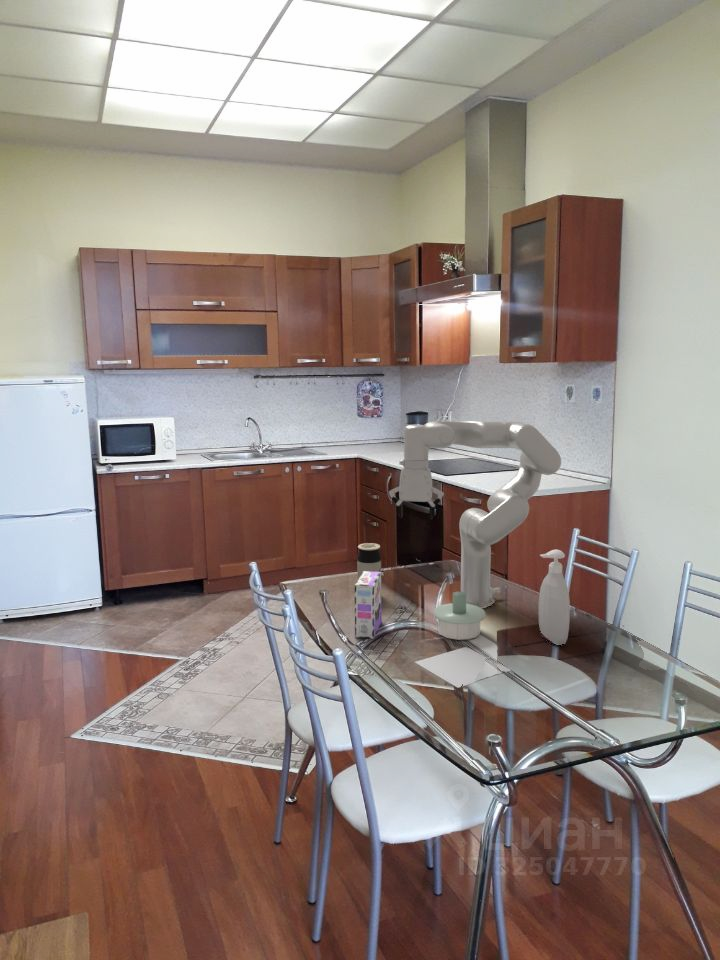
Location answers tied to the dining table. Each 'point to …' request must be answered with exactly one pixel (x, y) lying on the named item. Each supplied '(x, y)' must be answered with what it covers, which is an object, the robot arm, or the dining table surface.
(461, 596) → the lid
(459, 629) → the bowl
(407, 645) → the dining table surface
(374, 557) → the travel mug
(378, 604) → the candy box
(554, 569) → the soap bottle
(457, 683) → the mat
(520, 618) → the dining table surface
